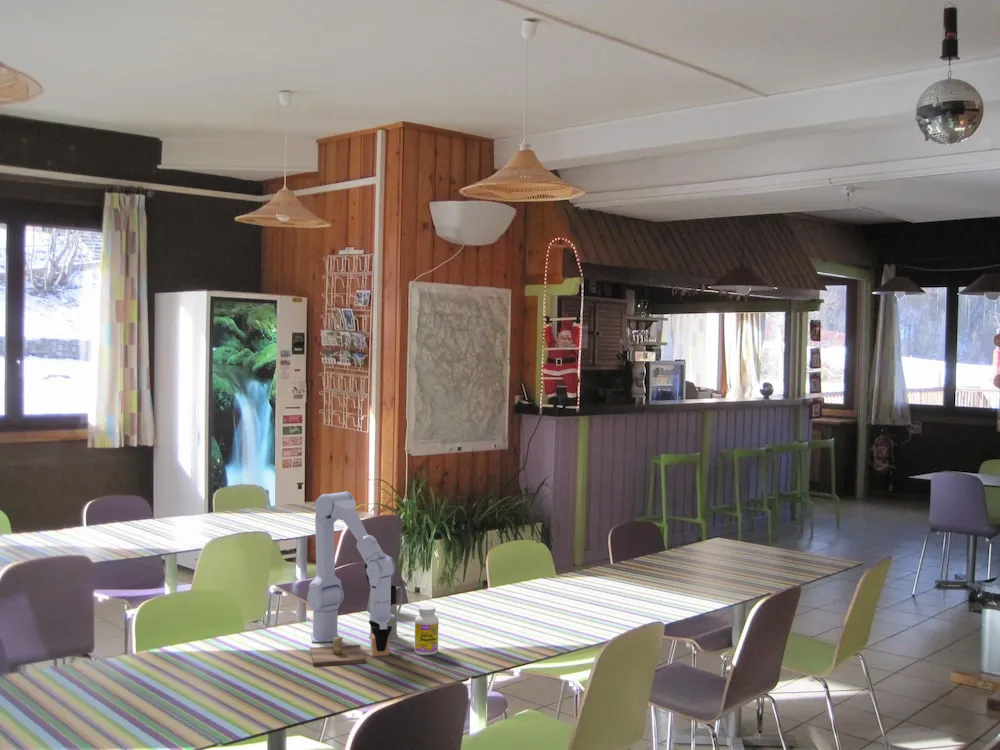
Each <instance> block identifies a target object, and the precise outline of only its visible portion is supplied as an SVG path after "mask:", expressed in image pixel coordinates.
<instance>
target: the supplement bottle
mask: <svg viewBox="0 0 1000 750" xmlns="http://www.w3.org/2000/svg"><path fill="white" fill-rule="evenodd" d="M418 613H419V615H417V616H416V617H415V620H414V652H415V654H417V655H420V656H432V655H435V654H437V653H438V651H439V618H438V617H437V615H435V613H436V607H435V606H433V605H422V606H419V607H418Z"/></svg>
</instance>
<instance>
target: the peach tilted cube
mask: <svg viewBox="0 0 1000 750" xmlns="http://www.w3.org/2000/svg"><path fill="white" fill-rule="evenodd" d="M370 653H371V655H372V657H379V656H381V657H382V656H389V655H390V641H389V636H388V639H387V644H386V649H385V651H377V647H376V640H375V635H374V634H371V640H370Z"/></svg>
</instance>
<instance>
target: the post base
mask: <svg viewBox="0 0 1000 750" xmlns="http://www.w3.org/2000/svg"><path fill="white" fill-rule="evenodd" d="M332 642H333V643H332V646H319V647H310V656H311V660H312V665H313V667H321V666H337V665H351V664H365V663H366V657H365V654H364V651H363V650H362V647H361V644H354V645H349V644H348V645H343V637H340V636H339V637H335V638H333V641H332Z"/></svg>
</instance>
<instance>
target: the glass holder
mask: <svg viewBox="0 0 1000 750" xmlns="http://www.w3.org/2000/svg"><path fill="white" fill-rule="evenodd" d="M398 589H399V590H400V597H399V603H397V593H398V592H397V591H398ZM403 598H404V590H403V588H402V587H401V586H396V585H394V584H393V585H391V608H390V614H393V615H394V616H395V618H392V619H390V620H389V623H388V625H387V626H392V630H391V632H390V634H389V642H392V641H395V640H397V639H398V638H399V635H398V632H397V630H398V629H397V628H398V627H397V626H398V625H397V624H398V621H397V620H398V619H397V618H398V615H399V614H400V612H401V608H402V605H403ZM371 634H373V632H372V628H371V627H370V632H369V636H368V639H369V640H370V641H371Z"/></svg>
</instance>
